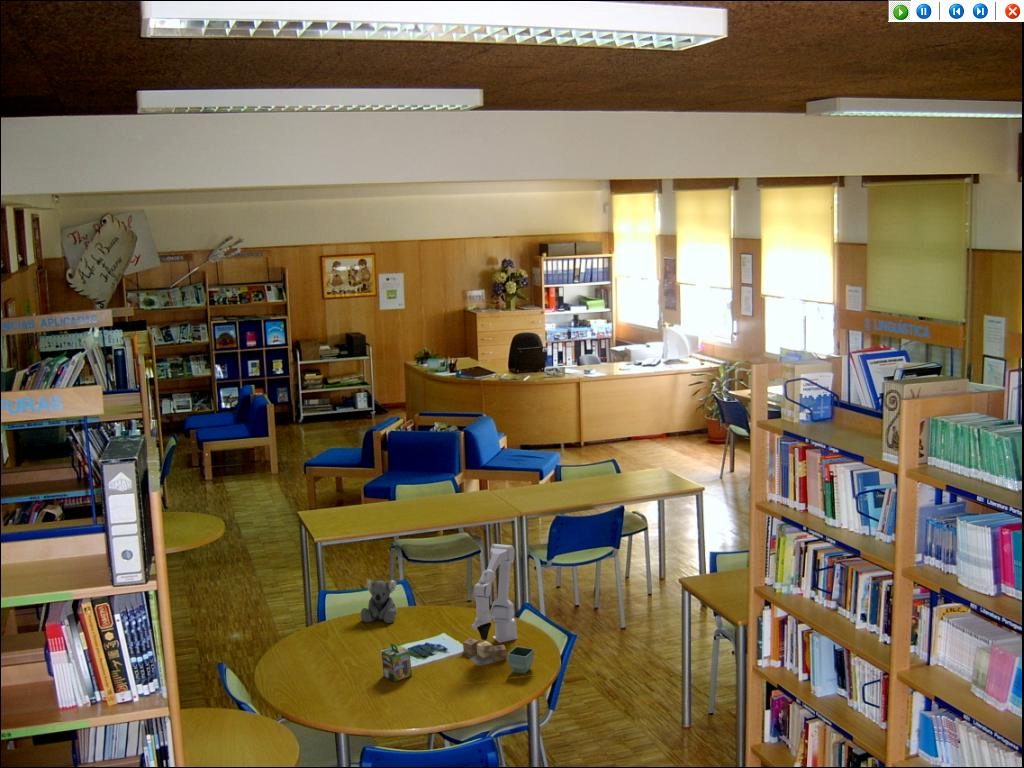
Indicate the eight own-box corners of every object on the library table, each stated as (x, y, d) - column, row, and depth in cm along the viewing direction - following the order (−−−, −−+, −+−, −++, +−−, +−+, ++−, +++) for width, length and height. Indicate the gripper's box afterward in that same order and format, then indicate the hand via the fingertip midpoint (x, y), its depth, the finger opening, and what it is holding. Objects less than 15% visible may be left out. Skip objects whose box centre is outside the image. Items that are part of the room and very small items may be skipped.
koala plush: (359, 623, 527) (356, 585, 523) (369, 609, 544) (367, 572, 541) (393, 624, 524) (391, 585, 520) (403, 610, 541) (401, 572, 538)
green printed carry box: (412, 676, 465) (410, 643, 462) (394, 682, 459) (391, 649, 457) (400, 669, 472) (398, 637, 469) (382, 676, 466) (380, 643, 464)
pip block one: (504, 655, 481) (504, 644, 480) (506, 660, 476) (505, 649, 475) (493, 656, 480) (492, 645, 479) (495, 661, 475) (494, 650, 474)
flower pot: (535, 668, 467) (534, 648, 465) (527, 676, 459) (526, 656, 457) (516, 665, 470) (515, 646, 469) (508, 674, 463) (507, 654, 461)
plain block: (486, 651, 486) (486, 640, 485) (492, 655, 482) (492, 644, 481) (477, 654, 483) (476, 643, 482) (483, 658, 479) (483, 647, 478)
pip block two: (471, 648, 490) (470, 638, 489) (479, 651, 486) (478, 640, 486) (463, 652, 486) (463, 641, 485) (471, 655, 483) (471, 644, 482)
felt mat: (492, 645, 493) (492, 644, 493) (509, 659, 477) (509, 658, 477) (462, 652, 487) (462, 651, 487) (478, 667, 471) (478, 666, 471)
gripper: (485, 603, 487) (486, 632, 489) (465, 613, 475) (467, 643, 478) (498, 605, 483) (499, 634, 485) (478, 616, 471) (480, 646, 474)
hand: (484, 639), depth 481 cm, fingers closed
